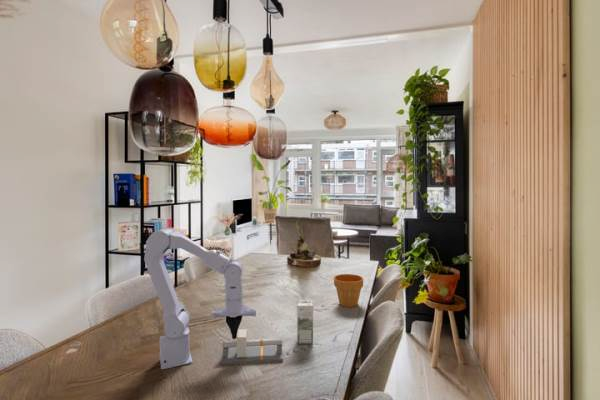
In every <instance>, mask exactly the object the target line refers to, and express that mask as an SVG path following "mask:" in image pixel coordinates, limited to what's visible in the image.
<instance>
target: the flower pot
mask: <svg viewBox="0 0 600 400" xmlns="http://www.w3.org/2000/svg"><path fill="white" fill-rule="evenodd" d="M333 285H334V287H335V289H336V294H337V298H338V303H339V305H340V306H342V307H346V308H353V307H354V308H355V307H356V306H358V304H359V300H360V299H359V298H360V295H361V294H360V293H361V291H362V288H363V287H364V278H363V277H362V276H361V275H359V274H358V275H357V274H353V273H351V274H349V273H344V274H338V275H334V277H333Z"/></svg>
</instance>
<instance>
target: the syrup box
mask: <svg viewBox="0 0 600 400" xmlns="http://www.w3.org/2000/svg"><path fill="white" fill-rule="evenodd" d="M296 301H297V302H296V309H297V311H296V316H297V317H296V318H297V319H296V320H297V321H296V322H297V324H296V326H297V327H296V329H297V330H296V331H297V332H296V334H297V335H296V336H297V344H298V345H308V344H311V345H312V344H314V305H313V301H312V300H296Z"/></svg>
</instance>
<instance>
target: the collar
mask: <svg viewBox="0 0 600 400" xmlns="http://www.w3.org/2000/svg"><path fill="white" fill-rule="evenodd" d="M247 340H248V329H246V328H245V329H238V331H237V338H236V341H237V347H236V348H237V358H238V357H246V355H247V347H246V341H247Z"/></svg>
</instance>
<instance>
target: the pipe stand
mask: <svg viewBox="0 0 600 400" xmlns="http://www.w3.org/2000/svg"><path fill="white" fill-rule="evenodd" d="M221 347H222V358H221V361H220V365H221V366H229V365H230V366H231V365H246V364H262V363H280V362H282V363H283V362H284V358H283V357H284V356H283V338H267V339H266V338H264V339H263V338H260V339H247V341H246V347H247V355H246V357H238V358H237V340H229V341H228V340H227V341H222V343H221Z"/></svg>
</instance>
